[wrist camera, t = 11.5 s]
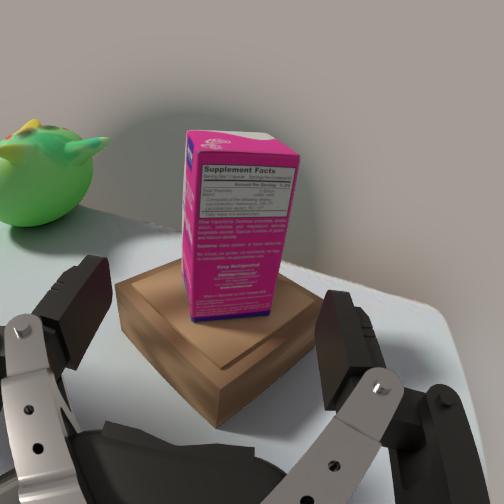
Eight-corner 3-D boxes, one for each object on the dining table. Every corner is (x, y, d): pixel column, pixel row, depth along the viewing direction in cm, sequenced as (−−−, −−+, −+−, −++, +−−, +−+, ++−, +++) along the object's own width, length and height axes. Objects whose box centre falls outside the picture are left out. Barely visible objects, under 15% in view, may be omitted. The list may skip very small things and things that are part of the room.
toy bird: (70, 189, 50) (68, 109, 43) (117, 219, 43) (117, 116, 35) (-18, 220, 37) (-29, 131, 30) (4, 265, 29) (-18, 144, 22)
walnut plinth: (121, 330, 26) (114, 281, 23) (221, 282, 34) (226, 239, 31) (215, 428, 19) (220, 386, 17) (314, 346, 27) (331, 301, 25)
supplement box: (178, 274, 25) (186, 127, 19) (249, 271, 27) (272, 133, 21) (187, 325, 20) (197, 146, 15) (272, 317, 22) (308, 154, 16)
